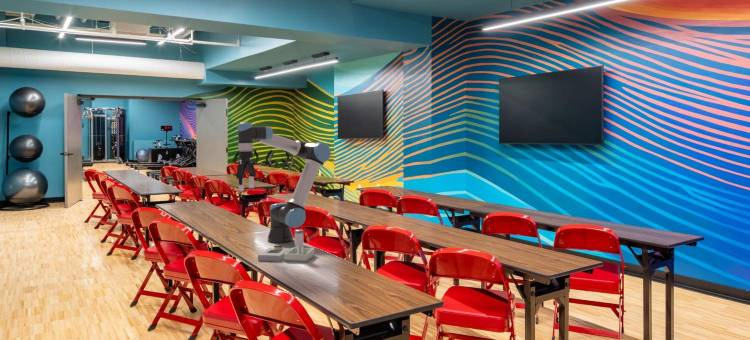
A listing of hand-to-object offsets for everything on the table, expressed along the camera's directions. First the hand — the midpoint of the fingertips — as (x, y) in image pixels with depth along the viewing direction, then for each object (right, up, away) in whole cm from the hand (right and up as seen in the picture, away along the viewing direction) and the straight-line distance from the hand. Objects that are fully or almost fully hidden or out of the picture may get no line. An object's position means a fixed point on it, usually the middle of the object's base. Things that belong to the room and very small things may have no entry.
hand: (246, 189), depth 269 cm
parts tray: (+31, -36, -13) cm, 49 cm away
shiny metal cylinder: (+31, -35, -13) cm, 48 cm away
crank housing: (+17, -35, -10) cm, 41 cm away
